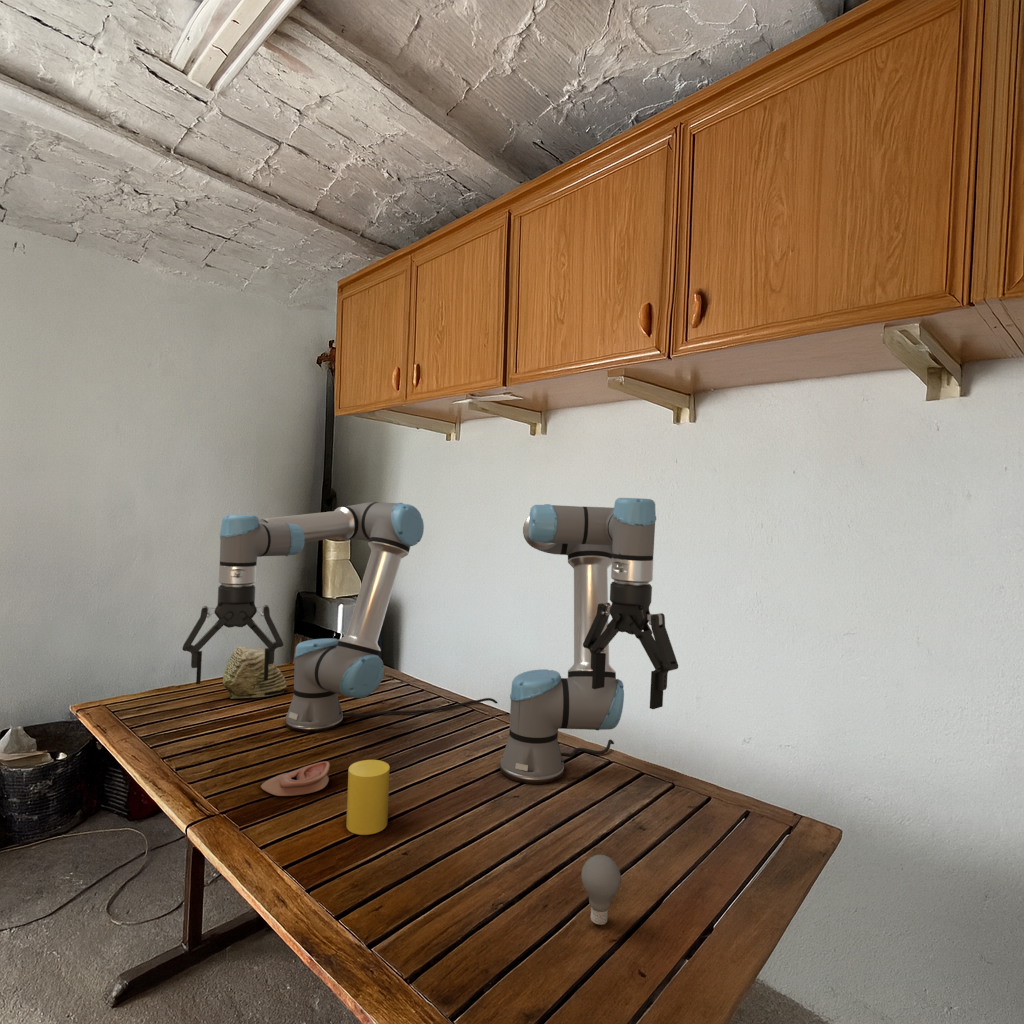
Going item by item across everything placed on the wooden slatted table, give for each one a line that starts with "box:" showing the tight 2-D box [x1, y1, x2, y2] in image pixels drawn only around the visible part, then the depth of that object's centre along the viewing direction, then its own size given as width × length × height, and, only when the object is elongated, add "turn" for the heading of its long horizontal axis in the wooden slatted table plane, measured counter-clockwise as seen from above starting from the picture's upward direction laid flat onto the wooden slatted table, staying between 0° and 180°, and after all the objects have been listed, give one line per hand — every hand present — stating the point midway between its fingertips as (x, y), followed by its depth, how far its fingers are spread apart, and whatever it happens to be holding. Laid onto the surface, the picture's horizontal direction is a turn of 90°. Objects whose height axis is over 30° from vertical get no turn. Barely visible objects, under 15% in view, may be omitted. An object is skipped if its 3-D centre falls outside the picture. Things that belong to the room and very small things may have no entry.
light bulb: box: [580, 854, 622, 926], centre depth 97 cm, size 6×6×10 cm
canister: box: [345, 759, 391, 836], centre depth 123 cm, size 8×8×11 cm
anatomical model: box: [260, 760, 331, 797], centre depth 138 cm, size 13×4×12 cm
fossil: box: [222, 646, 288, 699], centre depth 198 cm, size 9×18×15 cm, turn 132°
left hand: (232, 680), depth 140 cm, fingers open, 13 cm apart
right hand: (625, 697), depth 116 cm, fingers open, 13 cm apart
